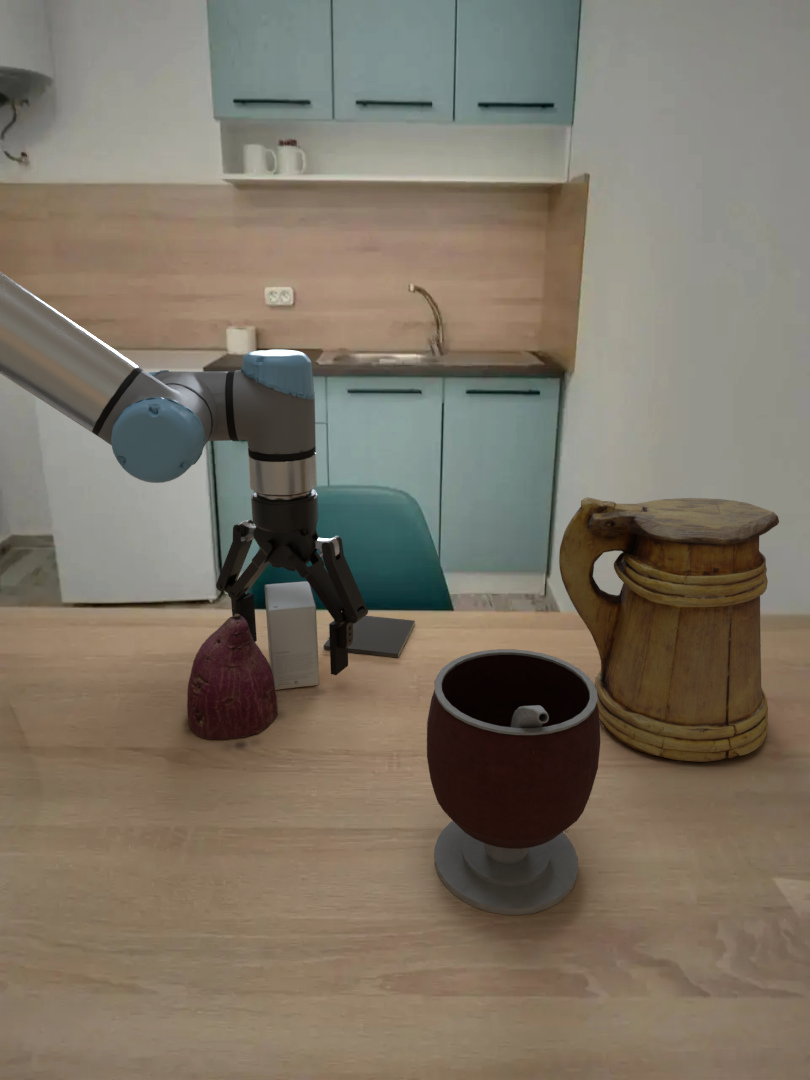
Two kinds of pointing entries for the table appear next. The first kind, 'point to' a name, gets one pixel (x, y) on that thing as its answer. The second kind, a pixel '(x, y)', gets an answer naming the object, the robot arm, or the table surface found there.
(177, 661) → the table surface
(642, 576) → the tankard
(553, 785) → the mate gourd
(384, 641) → the slate coaster
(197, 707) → the vegetable
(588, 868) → the table surface
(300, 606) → the small box
